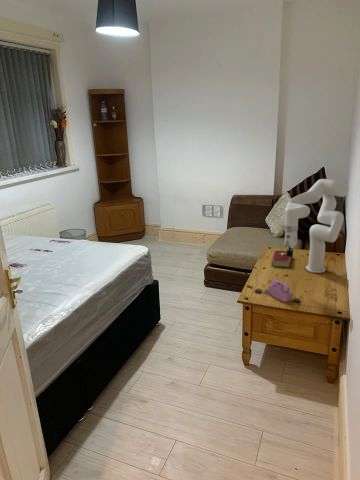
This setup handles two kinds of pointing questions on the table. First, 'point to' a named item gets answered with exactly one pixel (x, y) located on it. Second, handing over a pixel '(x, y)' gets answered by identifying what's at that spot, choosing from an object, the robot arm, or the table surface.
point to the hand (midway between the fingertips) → (289, 256)
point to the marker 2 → (296, 300)
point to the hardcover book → (281, 259)
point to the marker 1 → (258, 290)
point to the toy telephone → (280, 291)
